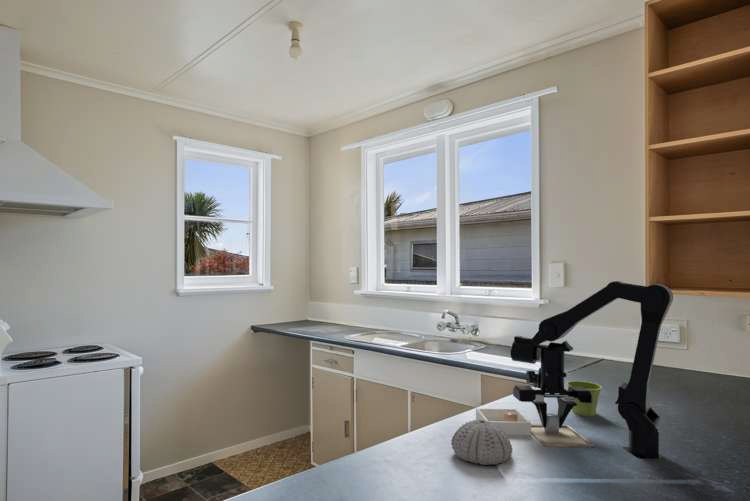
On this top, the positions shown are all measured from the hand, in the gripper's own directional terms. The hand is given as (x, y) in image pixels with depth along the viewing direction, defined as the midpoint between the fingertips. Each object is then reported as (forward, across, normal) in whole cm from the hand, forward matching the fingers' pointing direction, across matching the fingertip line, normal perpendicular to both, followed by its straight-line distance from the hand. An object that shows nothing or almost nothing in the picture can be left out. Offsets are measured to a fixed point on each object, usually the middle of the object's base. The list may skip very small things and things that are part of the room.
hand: (551, 427), depth 121 cm
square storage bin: (+2, +12, -3) cm, 12 cm away
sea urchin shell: (+2, +22, +15) cm, 27 cm away
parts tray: (+2, 0, +3) cm, 4 cm away
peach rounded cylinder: (+1, +10, -1) cm, 11 cm away
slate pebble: (+1, 0, 0) cm, 1 cm away
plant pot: (+2, -16, -16) cm, 23 cm away
